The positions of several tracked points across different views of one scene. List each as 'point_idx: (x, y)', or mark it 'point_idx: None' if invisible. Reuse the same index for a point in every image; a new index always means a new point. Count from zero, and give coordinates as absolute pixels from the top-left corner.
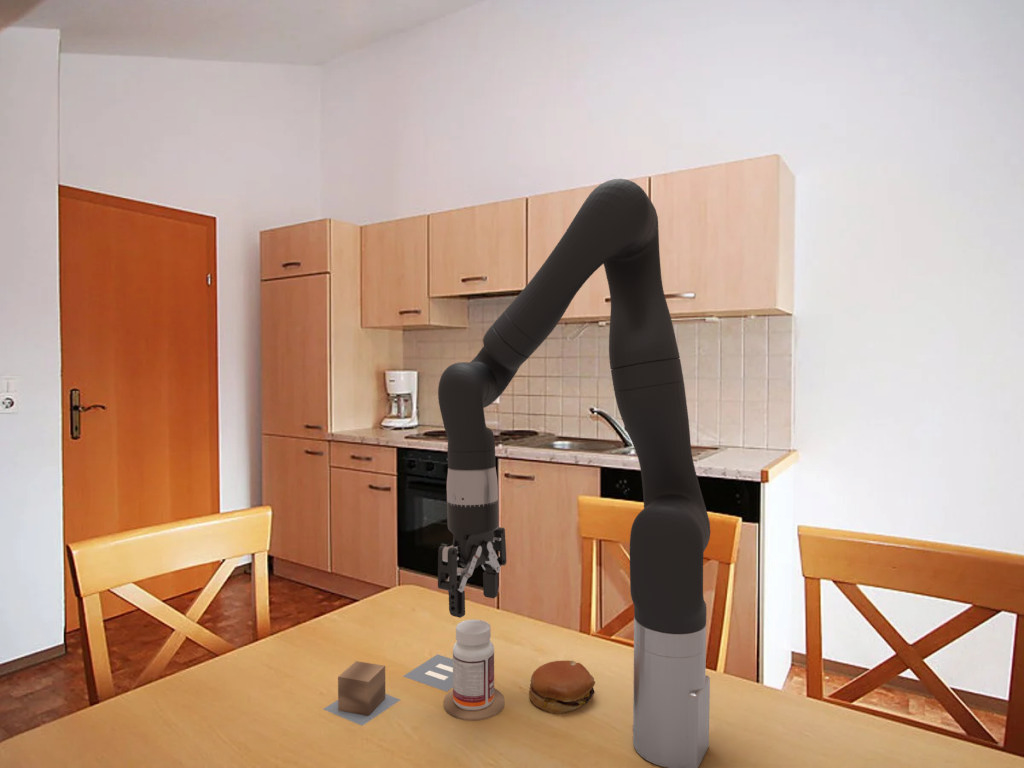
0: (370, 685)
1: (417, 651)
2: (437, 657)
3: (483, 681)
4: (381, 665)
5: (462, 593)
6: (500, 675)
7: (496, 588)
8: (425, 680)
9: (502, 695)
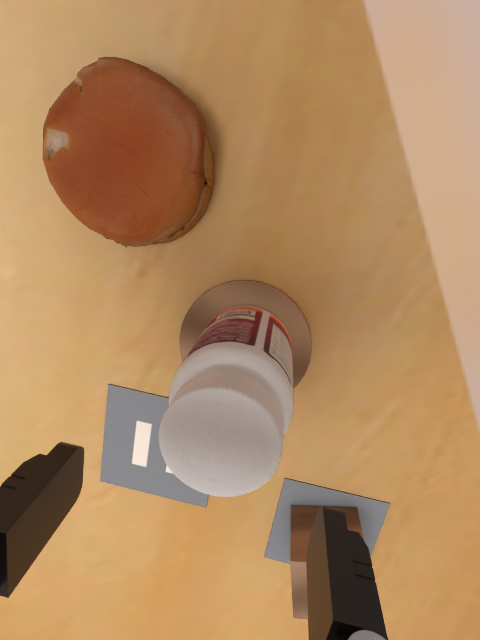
0: None
1: (106, 518)
2: (111, 476)
3: (272, 334)
4: (292, 568)
5: (356, 616)
6: (116, 332)
7: (47, 468)
8: None
9: (203, 296)
